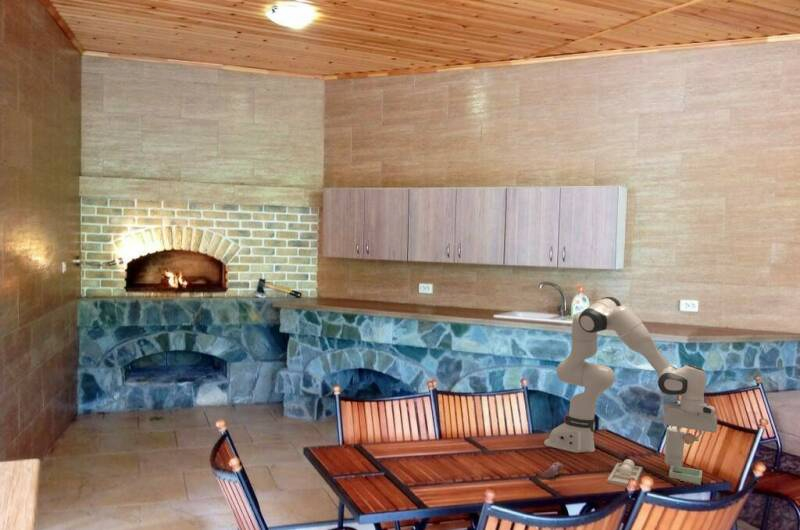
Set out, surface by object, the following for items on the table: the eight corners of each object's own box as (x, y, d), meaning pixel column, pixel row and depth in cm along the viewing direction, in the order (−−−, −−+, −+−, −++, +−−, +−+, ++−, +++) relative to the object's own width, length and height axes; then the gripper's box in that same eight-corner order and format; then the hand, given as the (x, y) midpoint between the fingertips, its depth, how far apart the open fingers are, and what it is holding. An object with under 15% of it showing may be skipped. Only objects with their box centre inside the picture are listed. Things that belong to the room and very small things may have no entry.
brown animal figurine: (549, 484, 288) (558, 469, 286) (539, 476, 290) (548, 461, 288) (557, 478, 296) (566, 464, 295) (548, 470, 298) (557, 456, 297)
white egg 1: (621, 470, 305) (622, 459, 305) (623, 468, 309) (624, 457, 309) (633, 473, 303) (634, 461, 303) (634, 470, 307) (635, 459, 307)
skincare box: (682, 469, 319) (685, 432, 319) (665, 467, 320) (669, 430, 320) (679, 463, 327) (682, 428, 327) (663, 461, 328) (666, 426, 328)
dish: (668, 479, 302) (669, 472, 302) (670, 472, 313) (671, 464, 313) (700, 485, 297) (701, 477, 297) (701, 477, 308) (702, 470, 308)
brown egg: (681, 444, 303) (682, 433, 303) (682, 442, 307) (683, 430, 307) (694, 446, 301) (695, 435, 301) (694, 444, 305) (695, 432, 305)
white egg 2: (618, 476, 297) (619, 464, 296) (620, 473, 301) (621, 462, 301) (630, 478, 295) (631, 467, 295) (632, 475, 299) (633, 464, 299)
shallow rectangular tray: (606, 485, 287) (607, 479, 287) (616, 467, 313) (617, 462, 313) (634, 490, 283) (634, 484, 283) (642, 472, 309) (642, 467, 309)
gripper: (664, 402, 305) (660, 436, 306) (718, 411, 297) (715, 445, 297) (665, 400, 311) (662, 433, 311) (718, 408, 303) (715, 442, 303)
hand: (688, 439), depth 304 cm, fingers closed on brown egg, 5 cm apart
